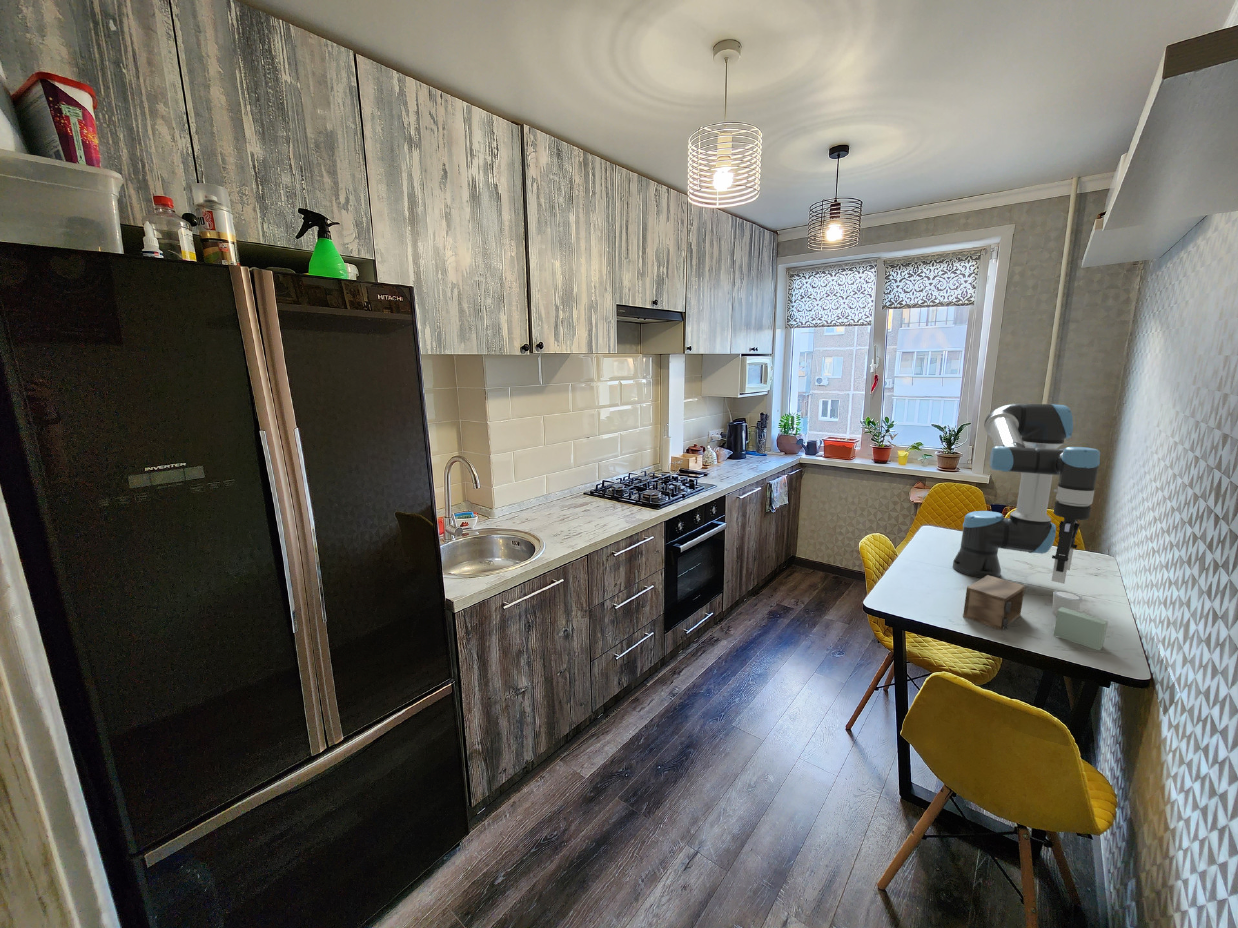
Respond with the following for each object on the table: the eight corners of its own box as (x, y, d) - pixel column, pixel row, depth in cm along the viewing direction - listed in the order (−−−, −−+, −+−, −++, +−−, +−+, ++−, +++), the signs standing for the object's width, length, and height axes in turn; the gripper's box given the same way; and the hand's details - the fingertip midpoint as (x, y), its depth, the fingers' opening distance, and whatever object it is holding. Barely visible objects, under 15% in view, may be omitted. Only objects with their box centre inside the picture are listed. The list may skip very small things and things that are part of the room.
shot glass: (1048, 615, 158) (1052, 595, 156) (1051, 608, 162) (1054, 588, 161) (1077, 623, 153) (1081, 602, 151) (1079, 615, 157) (1083, 595, 156)
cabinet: (962, 616, 157) (966, 587, 155) (983, 603, 166) (987, 575, 164) (1006, 631, 148) (1010, 600, 146) (1025, 616, 157) (1030, 587, 155)
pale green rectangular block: (1057, 631, 148) (1061, 606, 146) (1102, 646, 140) (1107, 620, 138) (1053, 635, 146) (1057, 610, 144) (1099, 650, 138) (1104, 624, 136)
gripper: (1060, 493, 149) (1049, 560, 153) (1049, 508, 132) (1037, 583, 136) (1094, 497, 144) (1082, 567, 147) (1087, 514, 127) (1074, 592, 130)
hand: (1060, 575), depth 142 cm, fingers open, 13 cm apart
